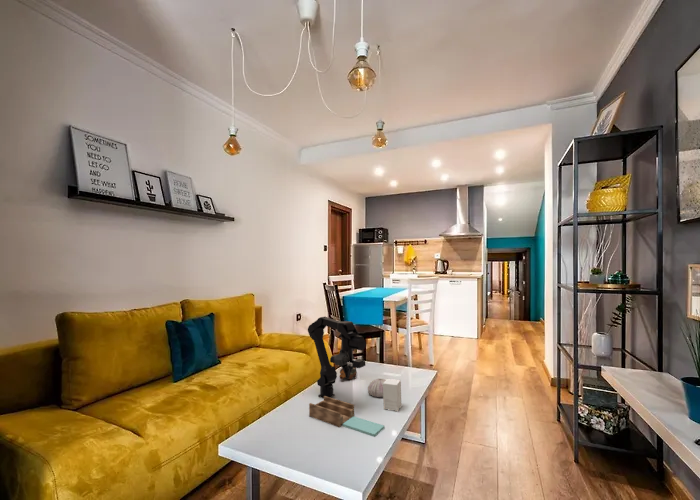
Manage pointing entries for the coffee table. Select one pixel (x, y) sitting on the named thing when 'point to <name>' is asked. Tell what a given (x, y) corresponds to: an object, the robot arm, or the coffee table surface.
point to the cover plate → (363, 426)
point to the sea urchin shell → (376, 387)
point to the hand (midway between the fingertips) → (347, 378)
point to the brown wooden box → (332, 411)
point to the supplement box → (392, 394)
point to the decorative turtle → (352, 375)
